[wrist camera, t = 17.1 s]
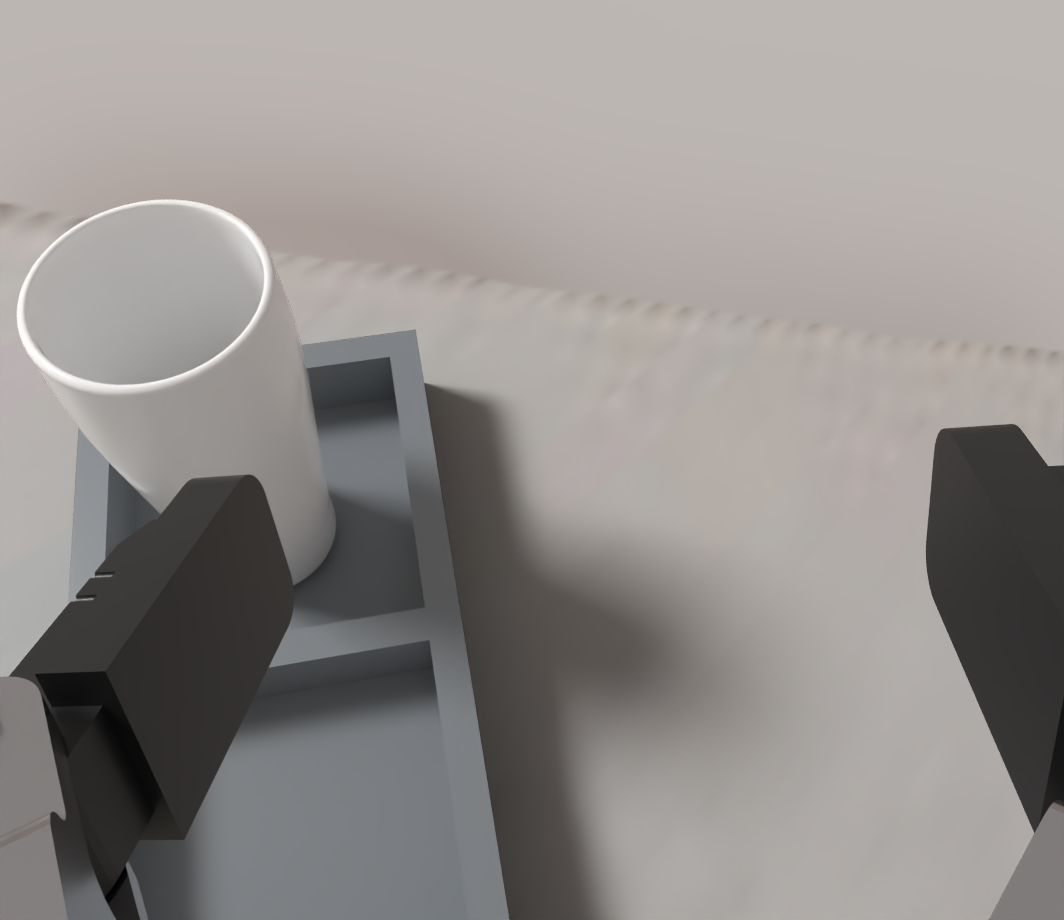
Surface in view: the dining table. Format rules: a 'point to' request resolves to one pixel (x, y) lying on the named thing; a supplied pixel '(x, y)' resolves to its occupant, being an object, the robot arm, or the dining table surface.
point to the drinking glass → (182, 360)
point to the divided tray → (339, 689)
